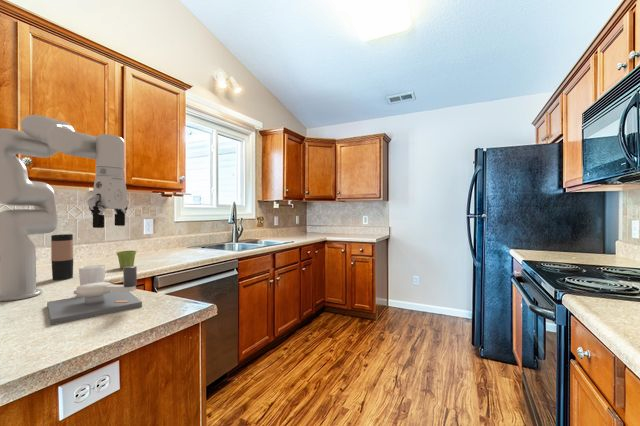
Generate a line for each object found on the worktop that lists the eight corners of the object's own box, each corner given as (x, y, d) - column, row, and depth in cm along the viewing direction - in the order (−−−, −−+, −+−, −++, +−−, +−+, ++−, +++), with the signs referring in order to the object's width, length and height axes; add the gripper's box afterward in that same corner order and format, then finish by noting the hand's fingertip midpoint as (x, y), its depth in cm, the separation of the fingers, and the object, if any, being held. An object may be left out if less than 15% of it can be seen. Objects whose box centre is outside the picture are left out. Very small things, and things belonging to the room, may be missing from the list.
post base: (47, 306, 98) (47, 294, 98) (126, 293, 114) (125, 282, 113) (51, 324, 82) (50, 310, 82) (141, 306, 98) (141, 294, 98)
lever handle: (64, 297, 94) (63, 269, 94) (91, 288, 104) (90, 263, 104) (126, 297, 93) (125, 270, 93) (147, 288, 103) (146, 263, 103)
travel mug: (48, 279, 137) (47, 235, 136) (68, 276, 143) (68, 234, 143) (56, 281, 133) (55, 235, 133) (76, 277, 140) (76, 234, 140)
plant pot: (127, 269, 158) (127, 253, 158) (111, 269, 160) (111, 252, 160) (140, 266, 167) (140, 250, 167) (125, 265, 169) (125, 250, 169)
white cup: (74, 297, 109) (74, 269, 109) (85, 291, 116) (85, 265, 116) (100, 295, 111) (99, 268, 111) (108, 289, 119) (108, 264, 118)
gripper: (102, 171, 89) (101, 228, 89) (137, 176, 106) (137, 225, 107) (76, 170, 89) (76, 228, 89) (116, 176, 106) (116, 224, 107)
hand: (109, 226), depth 98 cm, fingers open, 9 cm apart
